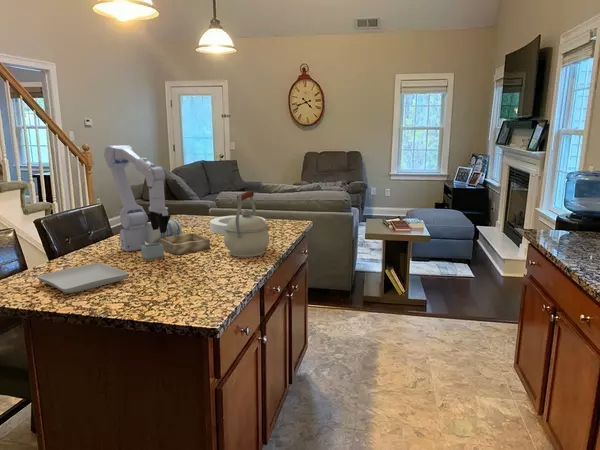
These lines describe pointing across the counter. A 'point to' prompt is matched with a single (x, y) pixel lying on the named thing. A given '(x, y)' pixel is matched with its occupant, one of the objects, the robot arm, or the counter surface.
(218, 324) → the counter surface
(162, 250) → the small crate
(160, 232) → the robot arm
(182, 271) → the counter surface
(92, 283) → the salad plate
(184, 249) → the square wooden tray
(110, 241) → the counter surface
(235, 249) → the kettle
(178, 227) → the supplement tub
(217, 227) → the ring with crossbar
